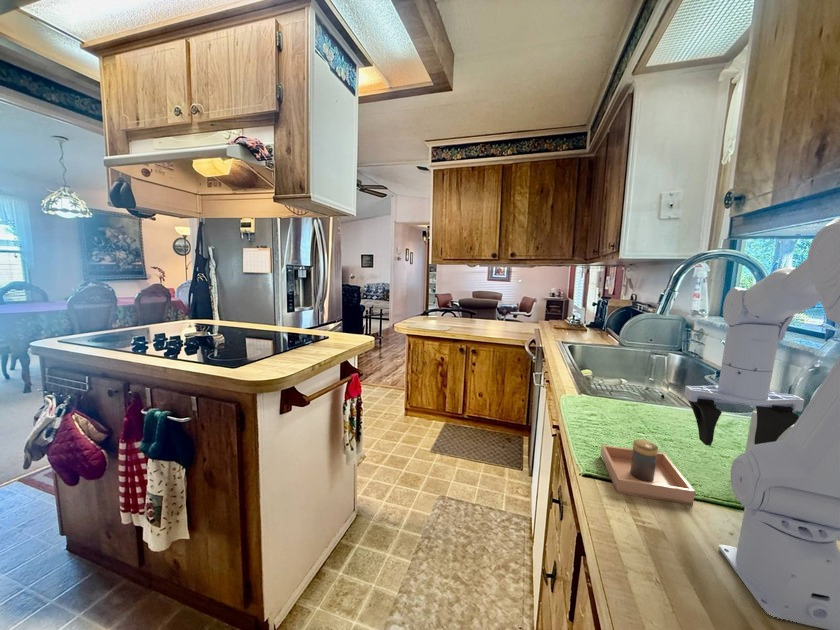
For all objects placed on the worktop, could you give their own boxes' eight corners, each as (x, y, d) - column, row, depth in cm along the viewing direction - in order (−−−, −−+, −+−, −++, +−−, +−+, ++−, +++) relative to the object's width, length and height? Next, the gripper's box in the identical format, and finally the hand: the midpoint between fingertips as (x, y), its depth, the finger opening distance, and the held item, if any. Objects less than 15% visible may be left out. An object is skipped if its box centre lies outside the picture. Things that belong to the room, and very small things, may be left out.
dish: (692, 505, 54) (695, 491, 53) (617, 492, 57) (618, 479, 56) (663, 464, 64) (664, 453, 64) (600, 456, 67) (601, 445, 67)
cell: (657, 483, 58) (661, 452, 57) (634, 479, 59) (637, 449, 58) (649, 470, 62) (653, 441, 61) (627, 467, 63) (630, 438, 62)
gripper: (784, 361, 54) (769, 439, 56) (679, 355, 57) (670, 427, 60) (823, 376, 47) (804, 463, 49) (702, 368, 51) (690, 449, 53)
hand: (732, 445), depth 54 cm, fingers open, 7 cm apart
